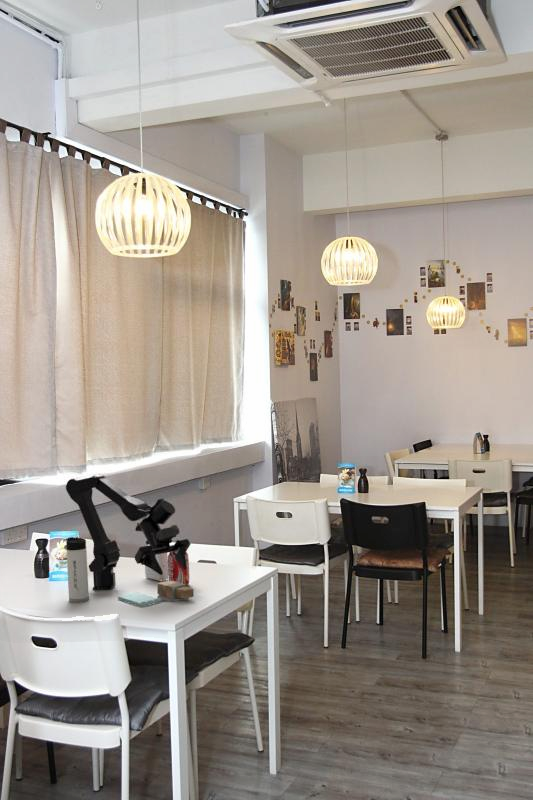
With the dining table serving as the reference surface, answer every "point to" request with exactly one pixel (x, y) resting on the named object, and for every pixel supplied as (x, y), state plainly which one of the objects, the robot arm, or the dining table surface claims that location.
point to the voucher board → (139, 599)
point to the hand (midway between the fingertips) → (174, 571)
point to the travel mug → (77, 569)
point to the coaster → (165, 598)
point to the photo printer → (163, 563)
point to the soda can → (178, 570)
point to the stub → (174, 590)
